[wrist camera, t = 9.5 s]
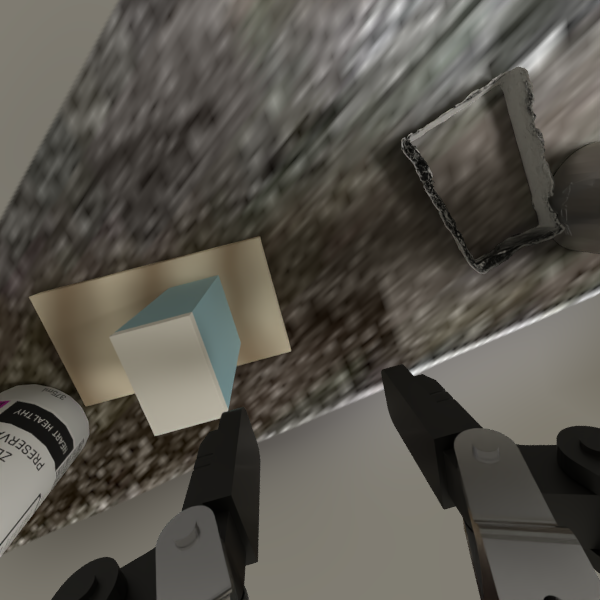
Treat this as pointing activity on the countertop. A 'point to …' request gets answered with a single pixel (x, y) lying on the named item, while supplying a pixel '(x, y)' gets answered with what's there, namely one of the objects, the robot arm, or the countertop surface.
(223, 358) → the block
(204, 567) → the robot arm
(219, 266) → the board
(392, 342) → the countertop surface
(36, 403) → the supplement can
